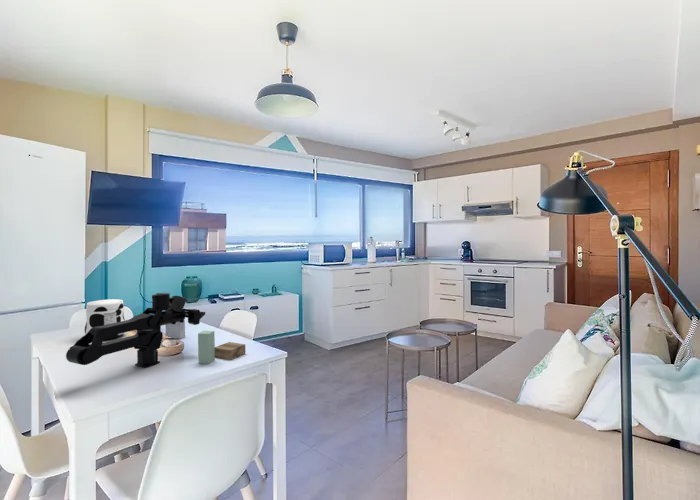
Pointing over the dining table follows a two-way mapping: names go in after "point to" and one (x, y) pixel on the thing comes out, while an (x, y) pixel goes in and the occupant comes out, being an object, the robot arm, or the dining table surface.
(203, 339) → the tall green block
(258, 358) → the dining table surface
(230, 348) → the walnut block
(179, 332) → the medicine box
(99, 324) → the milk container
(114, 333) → the robot arm
